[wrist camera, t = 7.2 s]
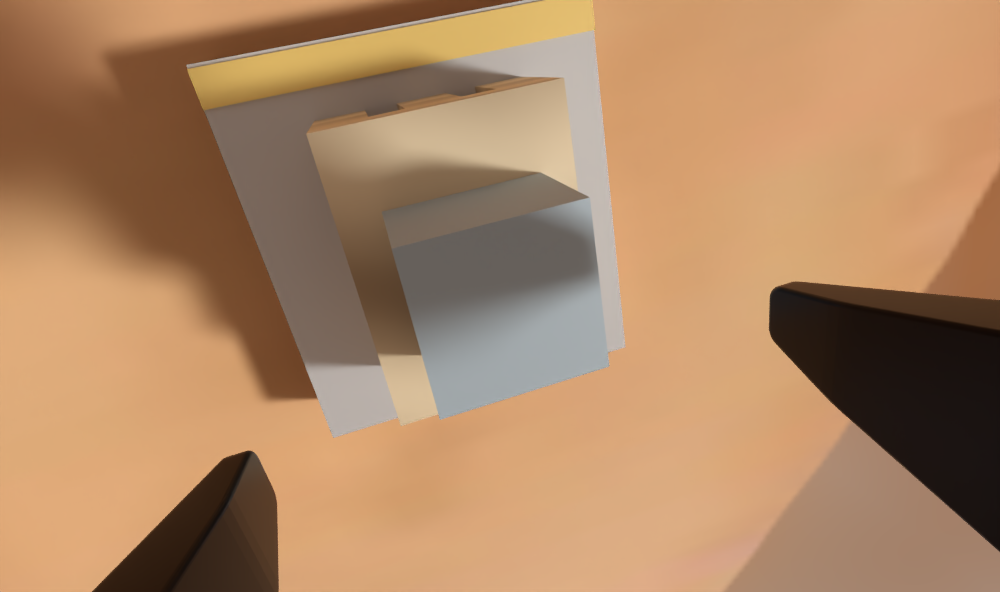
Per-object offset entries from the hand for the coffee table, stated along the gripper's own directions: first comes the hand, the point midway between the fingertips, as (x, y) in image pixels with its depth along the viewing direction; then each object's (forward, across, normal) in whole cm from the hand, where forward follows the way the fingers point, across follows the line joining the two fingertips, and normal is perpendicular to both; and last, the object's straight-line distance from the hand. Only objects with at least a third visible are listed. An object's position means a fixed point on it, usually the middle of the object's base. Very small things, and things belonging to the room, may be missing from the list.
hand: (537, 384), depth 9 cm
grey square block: (+6, 0, 0) cm, 6 cm away
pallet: (+9, 0, 0) cm, 9 cm away
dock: (+12, 0, 0) cm, 12 cm away
